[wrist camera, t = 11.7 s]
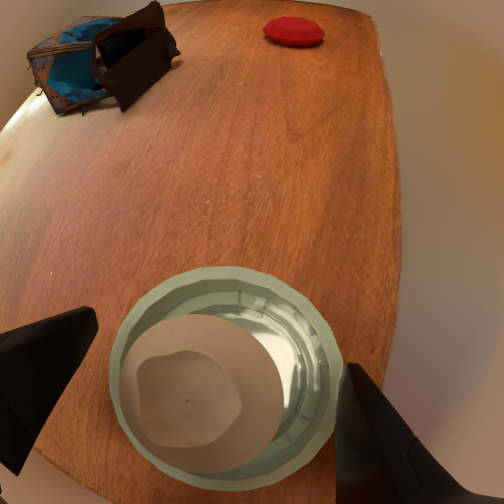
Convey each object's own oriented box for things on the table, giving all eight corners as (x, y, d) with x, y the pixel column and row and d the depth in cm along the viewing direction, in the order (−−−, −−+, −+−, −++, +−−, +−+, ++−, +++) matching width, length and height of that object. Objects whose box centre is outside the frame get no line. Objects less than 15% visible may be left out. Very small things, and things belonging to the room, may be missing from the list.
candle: (236, 441, 14) (198, 519, 5) (168, 384, 16) (67, 392, 6) (294, 376, 15) (331, 390, 6) (224, 320, 17) (174, 265, 8)
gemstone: (279, 52, 31) (279, 34, 28) (255, 33, 34) (254, 18, 31) (334, 47, 31) (336, 31, 29) (304, 28, 35) (305, 13, 32)
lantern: (172, 117, 35) (64, 111, 38) (195, 15, 27) (79, 32, 30) (90, 123, 20) (-7, 123, 23) (126, -27, 13) (10, 25, 16)
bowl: (290, 478, 13) (297, 513, 8) (128, 420, 15) (87, 431, 10) (343, 318, 17) (368, 301, 13) (180, 271, 19) (154, 241, 14)
